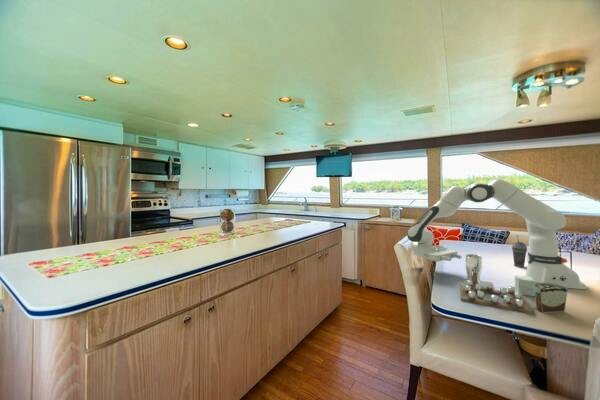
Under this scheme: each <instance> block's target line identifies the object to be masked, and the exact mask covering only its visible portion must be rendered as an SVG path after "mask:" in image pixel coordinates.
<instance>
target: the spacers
mask: <svg viewBox="0 0 600 400" xmlns="http://www.w3.org/2000/svg"><path fill="white" fill-rule="evenodd" d="M493 286H494V284H493V283H492V284H491V283H487V290H488V291H493ZM471 288H473V281H471V280H467V285H465V292H466V293H469V299H471V300H475V292H476V296H477V298H478V299H483V300H485V293H484V292H483V291H482V285H481V284H476V290H475V292H473V291H471ZM499 291H500V295H494V294H490V301H491V303H493V304H498V302H499V298H503V303H506V304H511V296H509V295H507V292H508V293H509V294H511V295H515V307H517V308H520V309H523V300H522V294H521V293H517V292H516V290H515V286H507V288H506V287H499Z"/></svg>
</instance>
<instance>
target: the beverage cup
mask: <svg viewBox="0 0 600 400" xmlns="http://www.w3.org/2000/svg"><path fill="white" fill-rule="evenodd" d="M516 238H517V241H515V242H514V243H513V244H511V245H512V246H511V250H512V255H513V264H514V265H513V266H514V267H517V268H525V264H526V257H527V252H528V246H527V244H525V243H524V242H523V241H520V239H519V234H516Z"/></svg>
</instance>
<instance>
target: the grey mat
mask: <svg viewBox="0 0 600 400" xmlns="http://www.w3.org/2000/svg"><path fill="white" fill-rule="evenodd" d="M461 279H462V285H467V283H466V282H467V278H465V277H462V278H461ZM480 283H481V285H482V288H486V289H487V283H491V284H493V282H492V281H491V282H490V281H485V280H480ZM473 287H475V286H473ZM493 290H496V288H495V287H494V285H493Z"/></svg>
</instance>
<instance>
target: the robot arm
mask: <svg viewBox="0 0 600 400" xmlns="http://www.w3.org/2000/svg"><path fill="white" fill-rule="evenodd" d="M490 199H494V200H496V201H497V202H499V203H500V204H502V205H503V206H504V207H506V208H507V209H508V210H510V211H512V212H513V213H515V214H517V215H518V216H520V217H522V218H523V219H524V220H525V225H526V230H527V234H528V251H527V254H526V257H527V268H526V272H525V275H524V276H526V277H531V278H532V279H533V280H535V281H536V283H551V284H557V285H561V286H565V287H567V289H574V290H575V289H577V290H587V289H588V287H587V285H586V284H585V283H584V282H582V281H581V280H580V276H579V274H578V273H577V272H576V271H574V270H573V269H572V268H570V267H569V266H567V265H565V264H566V263H568V260H567V258H564V257H562V256H559V240H558V238H557V236H556V232H555V231H559V230H561V229H564V227H565V226H566V224H567V218H566V216H565V215H564V214H563V213H562V212H560V211H558V210H556V209H555V208H553V207H551V206H550V205H548V204H547V203H545V202H542V201H541V200H539V199H537V198H535V197H532V196H531V195H530V194H528V193H526V192H525V191H523V189H522V190H521V188H520V187H517V186H515V185H514V184H513V183H510V182H508V181H506V180H503V179H501V178H496V179H493V180H491V181H490V182H489V183H487V184H485V183H480V182H474V183H469V184H468V185H466V186H463V187H461V186H458V185H453V186H450V187H449V188H447V190H446V191H445V193H443V194H442V196H441V197H440V199H439V200H438V201H437V202H436V203H435V204H434V205H432V206H430V207H429V208H428V209H427V210H426V211H425V212H424V213H423V214H422V215H421V216H420V217H419V219H418V220H417V221H416V222H415V223H414V224H412V225H410V227H409V228H408V229H407V231H406V236H407V238H408V240H409V241H410V242H413V251H414V254H415V255H414V254H413V255H414V256H417V257H420V258H425V259H428V260H430V261H432V262H442V261H447V262H451V261H452V259H454V258H456V259H459V260H461V259H462V258H463V257H462V255H461V254H459V252H458V250H454V249H451V248H448V247H445V246H442V245H440V246H439V245H438V246H437V245H433V244H434V241H435V234H434V233H433V231H431V230H429V229H426V228H427V227H428V226H429V225H430V223H432V222H433V221H434V220H435V219H438V218H447V217H451V216H453V215H454V214H455V213H456V212H457V211H458V210H459V208H460V207H461V205H462V204H463V203H465V202H466V201H471V202H474V203H484V202H486V201H488V200H490Z"/></svg>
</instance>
